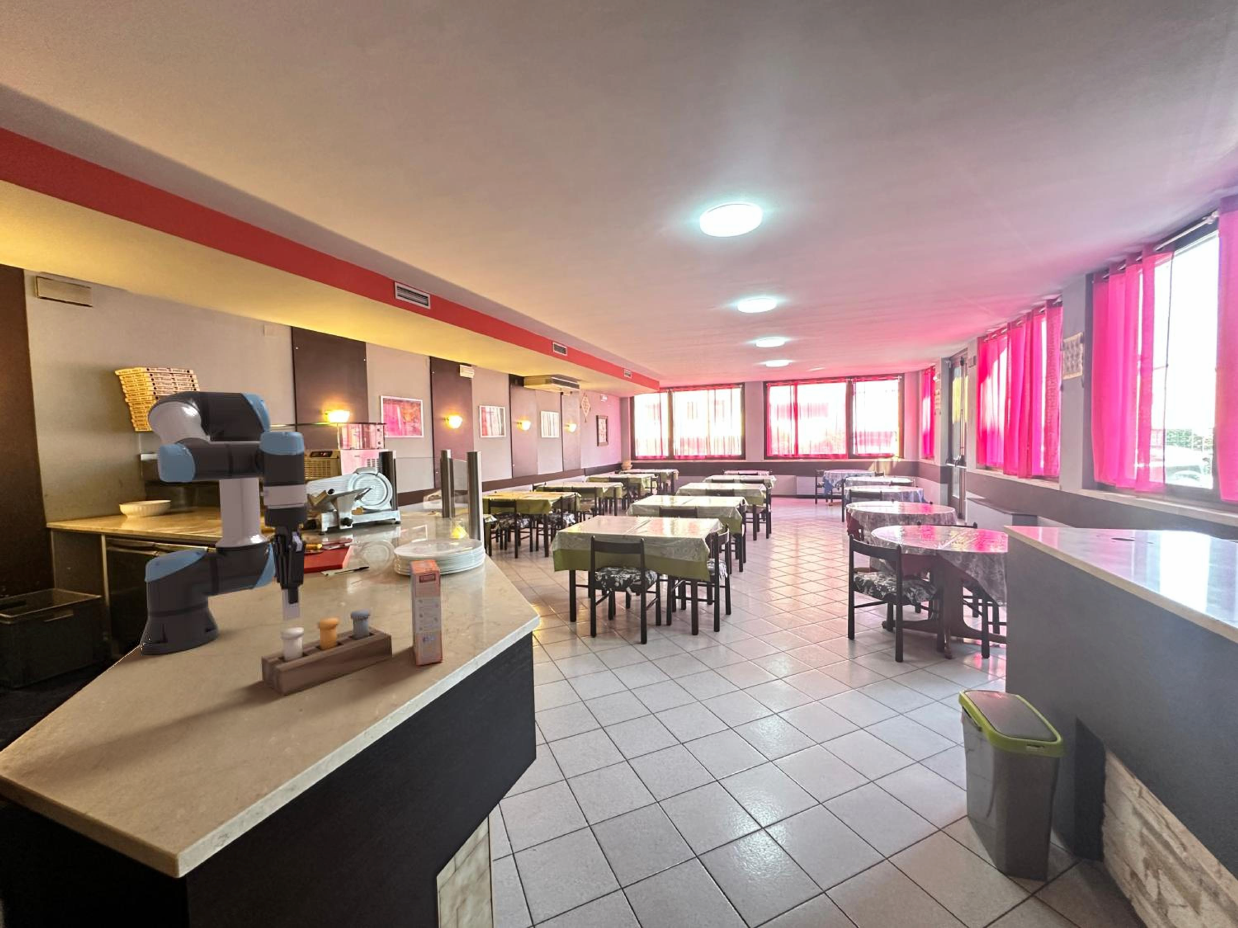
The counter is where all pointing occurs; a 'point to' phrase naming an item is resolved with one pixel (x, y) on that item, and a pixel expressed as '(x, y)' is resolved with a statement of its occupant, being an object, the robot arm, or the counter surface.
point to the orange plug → (328, 633)
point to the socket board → (325, 661)
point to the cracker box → (426, 611)
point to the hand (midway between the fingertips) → (291, 617)
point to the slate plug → (360, 624)
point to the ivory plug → (292, 644)
